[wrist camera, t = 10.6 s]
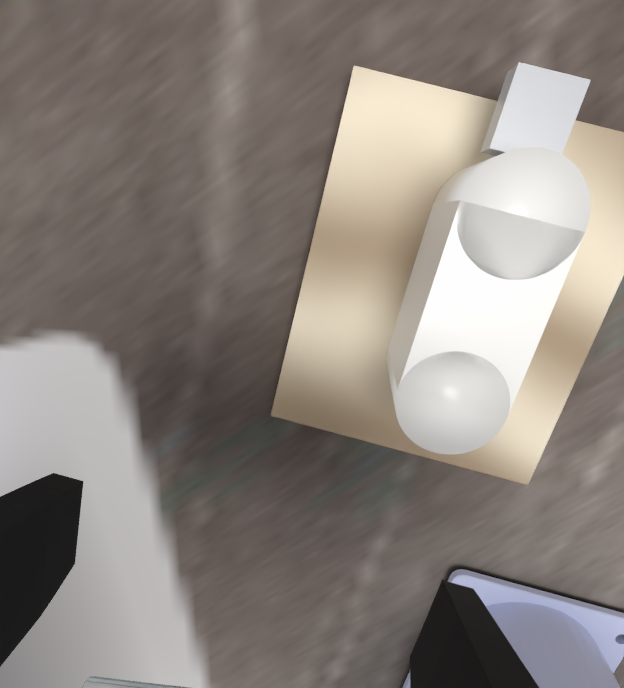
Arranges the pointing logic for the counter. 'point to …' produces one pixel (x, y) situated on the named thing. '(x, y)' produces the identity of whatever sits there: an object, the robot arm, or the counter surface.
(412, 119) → the birch board
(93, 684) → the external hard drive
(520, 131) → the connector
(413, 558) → the counter surface
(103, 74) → the counter surface
